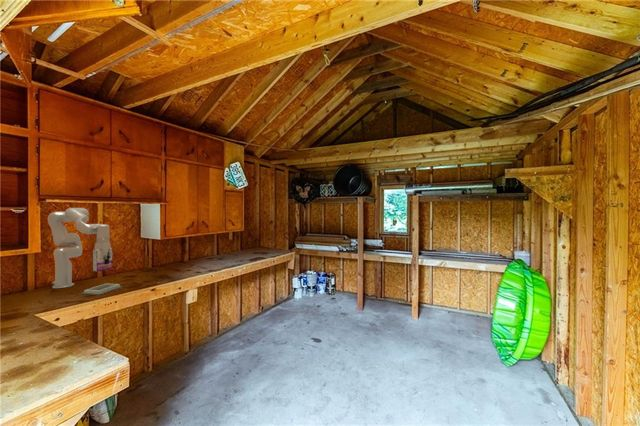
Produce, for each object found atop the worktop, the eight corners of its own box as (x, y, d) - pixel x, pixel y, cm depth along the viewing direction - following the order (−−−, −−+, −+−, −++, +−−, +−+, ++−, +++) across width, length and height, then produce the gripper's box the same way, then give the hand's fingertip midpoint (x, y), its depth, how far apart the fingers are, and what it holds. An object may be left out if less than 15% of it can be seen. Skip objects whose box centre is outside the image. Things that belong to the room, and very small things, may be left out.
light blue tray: (83, 293, 192) (83, 290, 192) (105, 285, 210) (106, 283, 210) (98, 293, 191) (98, 291, 191) (119, 286, 209) (119, 284, 209)
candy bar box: (108, 268, 206) (108, 247, 206) (112, 268, 205) (113, 247, 205) (92, 271, 196) (92, 249, 196) (96, 271, 194) (96, 249, 194)
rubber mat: (80, 294, 191) (80, 293, 191) (104, 286, 211) (104, 285, 211) (100, 295, 190) (100, 294, 190) (123, 287, 210) (123, 286, 210)
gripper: (88, 240, 197) (87, 264, 197) (109, 241, 196) (108, 265, 196) (97, 239, 204) (97, 262, 205) (117, 240, 203) (117, 263, 203)
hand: (102, 263), depth 200 cm, fingers closed on candy bar box, 5 cm apart
